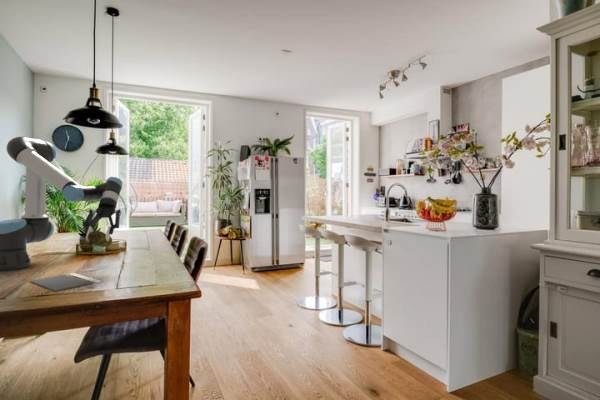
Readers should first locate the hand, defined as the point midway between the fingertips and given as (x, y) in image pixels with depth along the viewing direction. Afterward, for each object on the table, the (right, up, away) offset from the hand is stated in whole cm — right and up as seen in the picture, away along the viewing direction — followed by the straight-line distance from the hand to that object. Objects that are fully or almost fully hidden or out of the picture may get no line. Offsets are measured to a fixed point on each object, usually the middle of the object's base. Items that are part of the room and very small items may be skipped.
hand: (97, 239), depth 156 cm
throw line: (-2, -16, -6) cm, 17 cm away
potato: (0, -4, +4) cm, 6 cm away
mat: (-7, -17, -14) cm, 23 cm away
